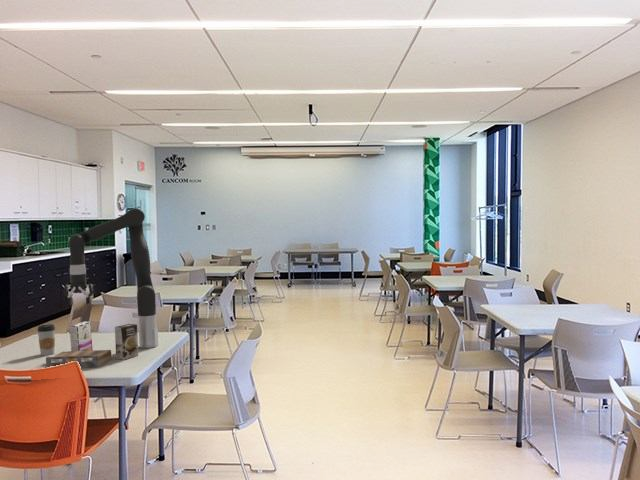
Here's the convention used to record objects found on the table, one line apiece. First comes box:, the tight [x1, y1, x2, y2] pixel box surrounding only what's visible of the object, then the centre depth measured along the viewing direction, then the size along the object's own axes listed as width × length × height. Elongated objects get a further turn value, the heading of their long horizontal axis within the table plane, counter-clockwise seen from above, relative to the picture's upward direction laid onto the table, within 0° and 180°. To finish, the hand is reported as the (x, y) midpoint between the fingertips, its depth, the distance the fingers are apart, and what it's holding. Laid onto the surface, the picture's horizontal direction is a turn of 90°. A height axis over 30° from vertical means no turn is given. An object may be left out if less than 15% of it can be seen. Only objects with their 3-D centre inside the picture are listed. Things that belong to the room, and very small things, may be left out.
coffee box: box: [114, 323, 139, 361], centre depth 269 cm, size 9×6×16 cm
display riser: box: [45, 349, 112, 369], centre depth 260 cm, size 24×18×6 cm
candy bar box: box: [69, 321, 94, 351], centre depth 276 cm, size 11×5×16 cm, turn 168°
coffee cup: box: [37, 323, 56, 357], centre depth 281 cm, size 8×8×15 cm
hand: (79, 304), depth 275 cm, fingers open, 8 cm apart
